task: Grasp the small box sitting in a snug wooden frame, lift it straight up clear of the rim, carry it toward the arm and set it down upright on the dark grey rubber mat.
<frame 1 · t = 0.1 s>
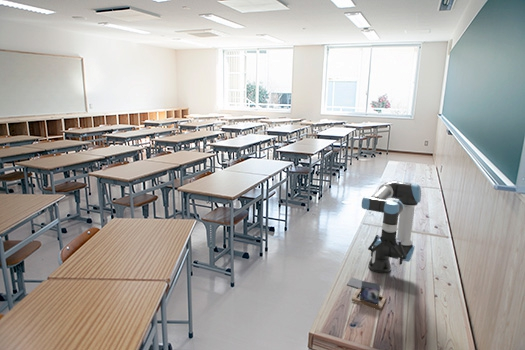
hand: (385, 265, 189), 28 cm above the table, fingers open, 13 cm apart
mat: (356, 283, 221), on the table
wooden frame: (369, 300, 204), on the table
small box: (369, 300, 204), resting in wooden frame
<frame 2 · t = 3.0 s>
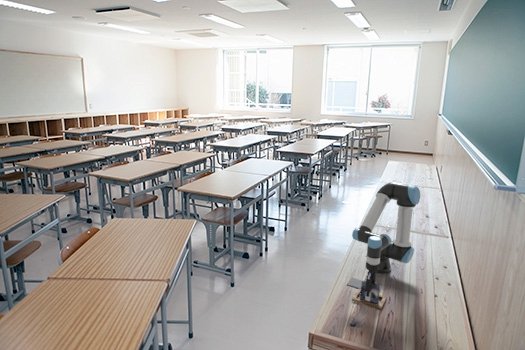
hand: (369, 297, 203), 2 cm above the table, fingers closed on small box, 7 cm apart
small box: (369, 300, 204), resting in wooden frame, touching gripper
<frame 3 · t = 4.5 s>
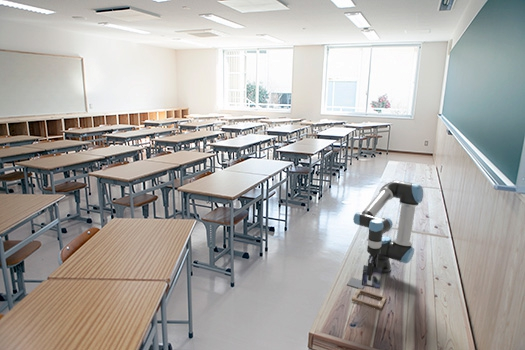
hand: (371, 281, 201), 13 cm above the table, fingers closed on small box, 7 cm apart
small box: (370, 285, 201), point 10 cm above the table, touching gripper
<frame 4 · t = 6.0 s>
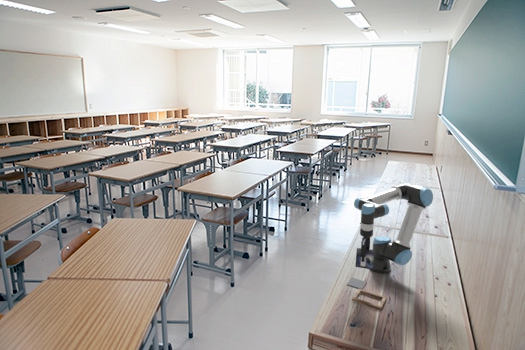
hand: (364, 263, 211), 18 cm above the table, fingers closed on small box, 7 cm apart
small box: (364, 266, 211), point 16 cm above the table, touching gripper
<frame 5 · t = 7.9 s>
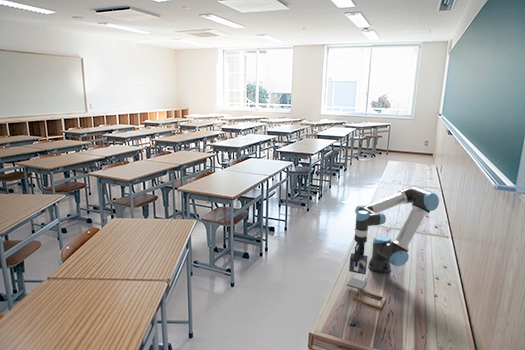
hand: (357, 268, 219), 11 cm above the table, fingers closed on small box, 7 cm apart
small box: (357, 271, 219), point 9 cm above the table, touching gripper
when the fingers open (5 cm above the table, at t = 9.5 s): small box drops 2 cm, resting on mat.
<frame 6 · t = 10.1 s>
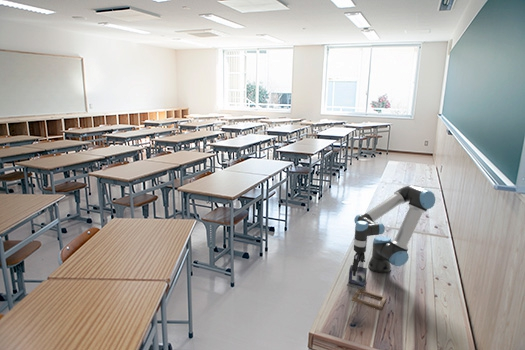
hand: (357, 275, 220), 6 cm above the table, fingers open, 13 cm apart
small box: (356, 283, 221), resting on mat
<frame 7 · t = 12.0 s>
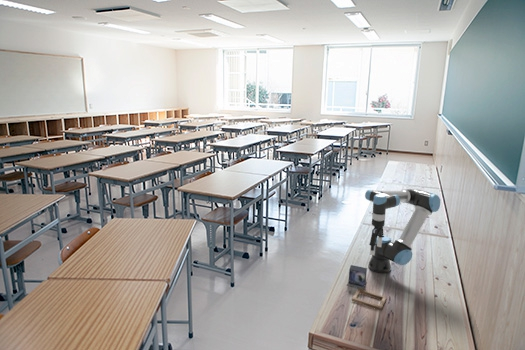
hand: (375, 250, 214), 24 cm above the table, fingers open, 13 cm apart
nothing on the table moved.
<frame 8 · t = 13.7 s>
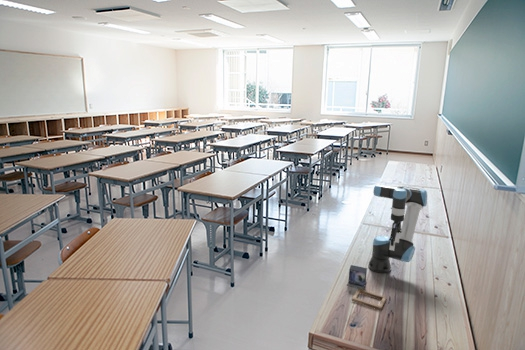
hand: (394, 246, 211), 29 cm above the table, fingers open, 13 cm apart
nothing on the table moved.
at the end: small box inside the target area on the mat (0.0 cm from its centre), point 0.4 cm above the mat's base; small box tilted 0°; the gripper is holding nothing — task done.
